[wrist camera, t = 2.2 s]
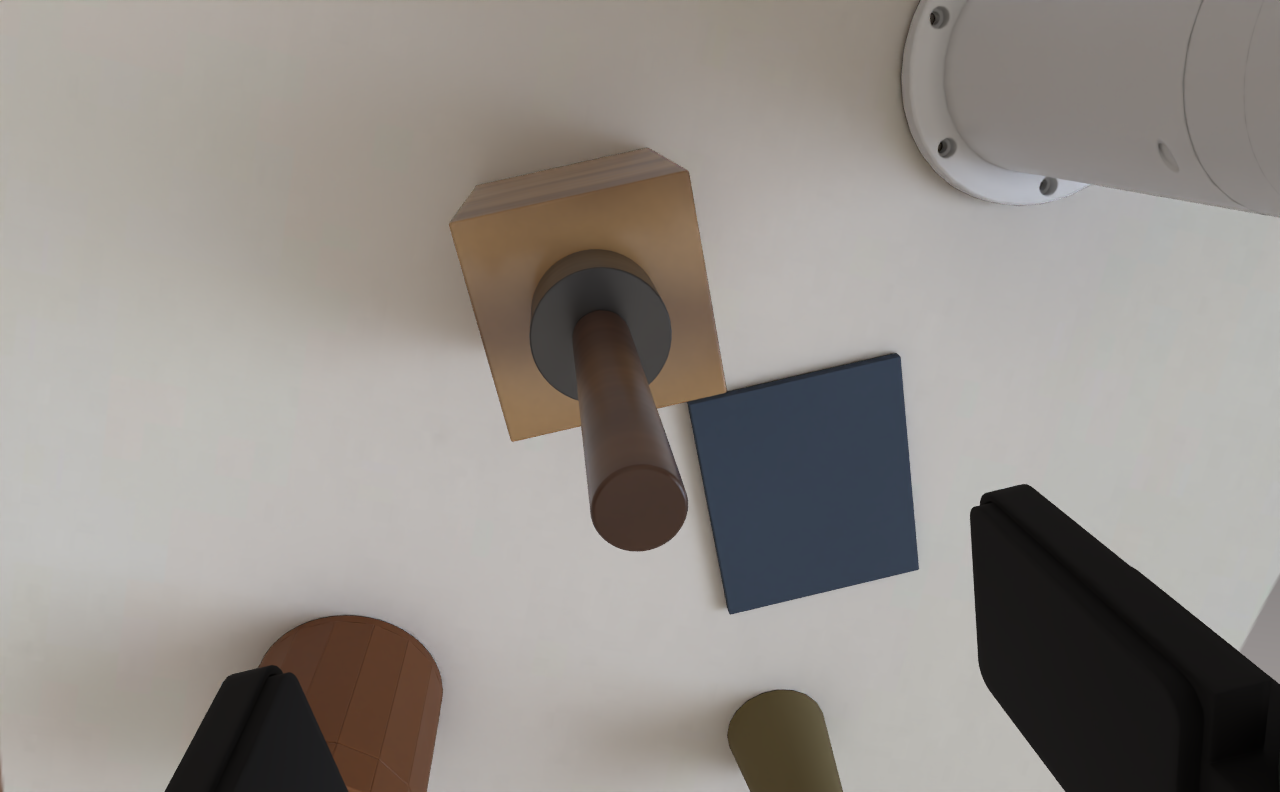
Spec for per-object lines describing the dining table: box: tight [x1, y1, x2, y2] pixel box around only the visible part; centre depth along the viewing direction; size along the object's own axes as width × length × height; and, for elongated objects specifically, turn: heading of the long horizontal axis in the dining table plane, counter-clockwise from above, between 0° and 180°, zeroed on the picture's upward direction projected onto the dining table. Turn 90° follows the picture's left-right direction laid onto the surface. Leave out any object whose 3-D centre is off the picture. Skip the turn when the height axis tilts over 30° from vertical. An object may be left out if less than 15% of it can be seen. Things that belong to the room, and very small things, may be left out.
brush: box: [529, 249, 688, 551], centre depth 21 cm, size 4×4×14 cm
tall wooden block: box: [449, 148, 727, 442], centre depth 33 cm, size 8×8×11 cm
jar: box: [258, 616, 443, 792], centre depth 40 cm, size 10×10×11 cm
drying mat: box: [687, 353, 919, 614], centre depth 44 cm, size 13×11×1 cm
